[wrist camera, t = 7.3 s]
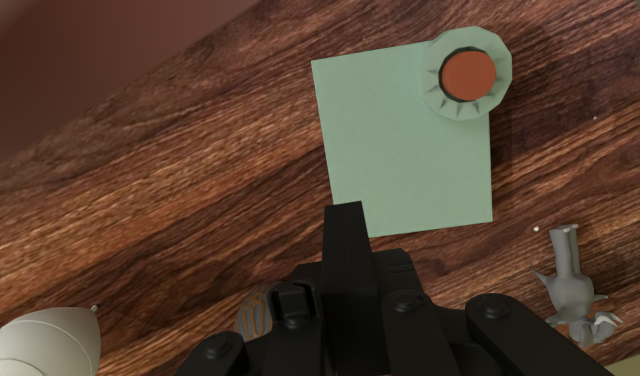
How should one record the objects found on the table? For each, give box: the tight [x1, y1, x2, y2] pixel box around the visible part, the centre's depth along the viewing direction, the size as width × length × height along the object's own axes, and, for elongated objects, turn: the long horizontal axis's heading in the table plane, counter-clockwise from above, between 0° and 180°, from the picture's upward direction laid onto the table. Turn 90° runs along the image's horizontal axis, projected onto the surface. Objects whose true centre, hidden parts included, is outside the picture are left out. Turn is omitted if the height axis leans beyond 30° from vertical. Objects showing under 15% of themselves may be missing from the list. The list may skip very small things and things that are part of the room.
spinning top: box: [0, 305, 101, 376], centre depth 32 cm, size 8×8×12 cm
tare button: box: [442, 51, 496, 100], centre depth 26 cm, size 3×3×2 cm
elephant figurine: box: [530, 224, 623, 348], centre depth 32 cm, size 10×6×9 cm
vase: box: [233, 281, 284, 342], centre depth 32 cm, size 7×7×9 cm
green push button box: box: [311, 26, 512, 238], centre depth 30 cm, size 14×13×4 cm
